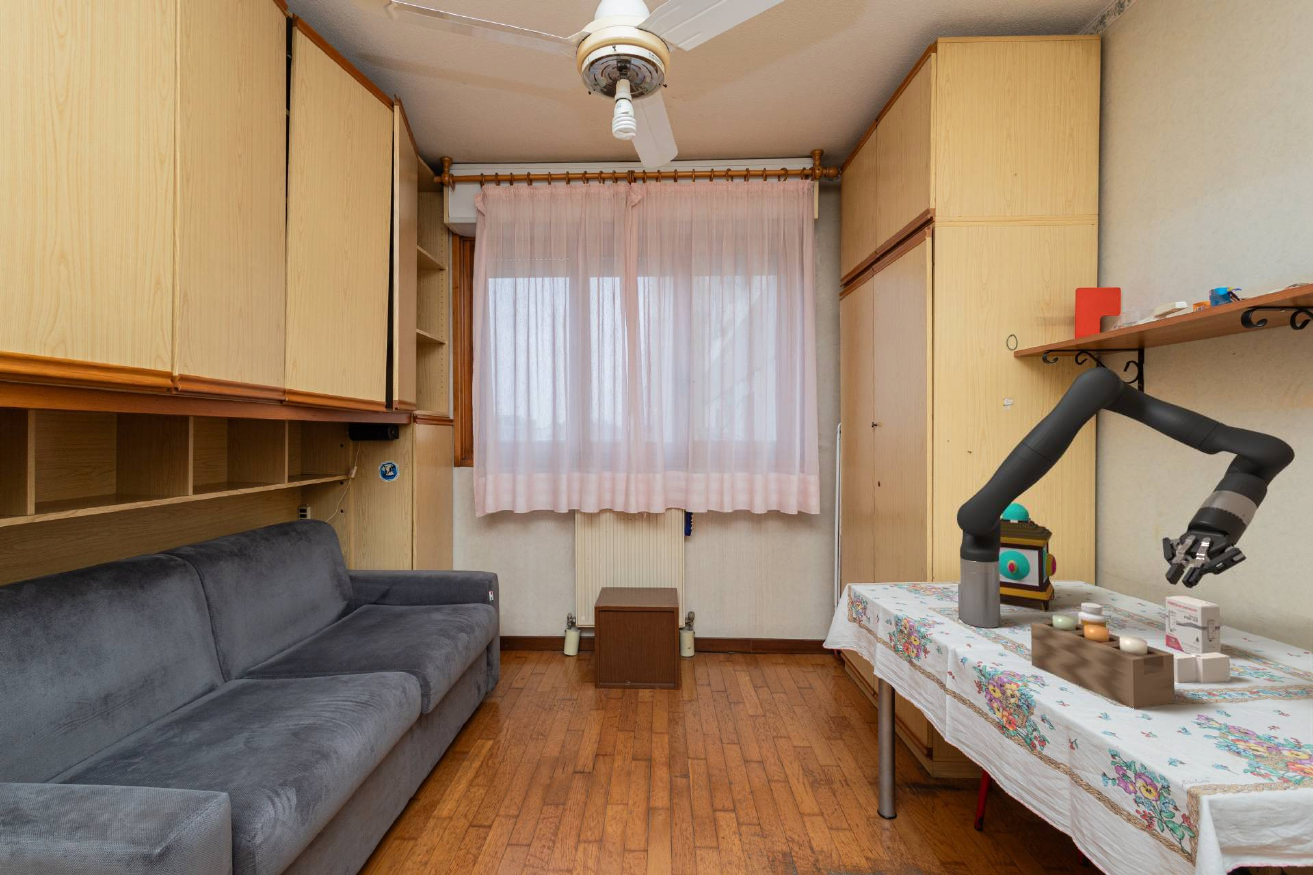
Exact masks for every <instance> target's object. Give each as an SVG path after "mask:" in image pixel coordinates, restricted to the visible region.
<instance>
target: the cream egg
mask: <svg viewBox="0 0 1313 875" xmlns="http://www.w3.org/2000/svg"><path fill="white" fill-rule="evenodd" d="M1119 637H1120V650H1121V651H1124V652H1127V653H1130V654H1132V655H1135V656H1142V655H1147V646H1148V641H1147V640H1145V639H1143V638H1139V637H1136V636H1129V635H1123V636H1122V635H1121V636H1119Z"/></svg>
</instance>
